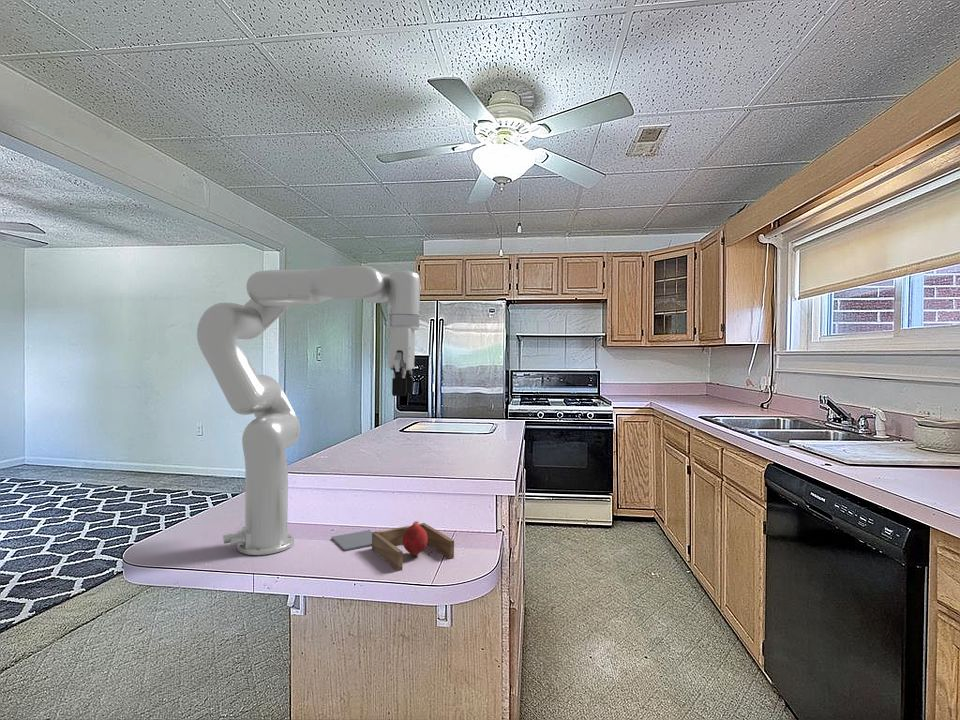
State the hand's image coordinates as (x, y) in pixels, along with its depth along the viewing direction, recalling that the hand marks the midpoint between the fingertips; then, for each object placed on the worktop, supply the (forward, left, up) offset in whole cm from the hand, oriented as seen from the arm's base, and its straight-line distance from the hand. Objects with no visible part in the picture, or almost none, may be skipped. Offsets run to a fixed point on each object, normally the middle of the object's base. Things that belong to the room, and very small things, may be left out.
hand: (402, 394), depth 126 cm
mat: (-7, +10, -37) cm, 39 cm away
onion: (+1, -6, -38) cm, 38 cm away
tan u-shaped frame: (+1, -5, -37) cm, 38 cm away
